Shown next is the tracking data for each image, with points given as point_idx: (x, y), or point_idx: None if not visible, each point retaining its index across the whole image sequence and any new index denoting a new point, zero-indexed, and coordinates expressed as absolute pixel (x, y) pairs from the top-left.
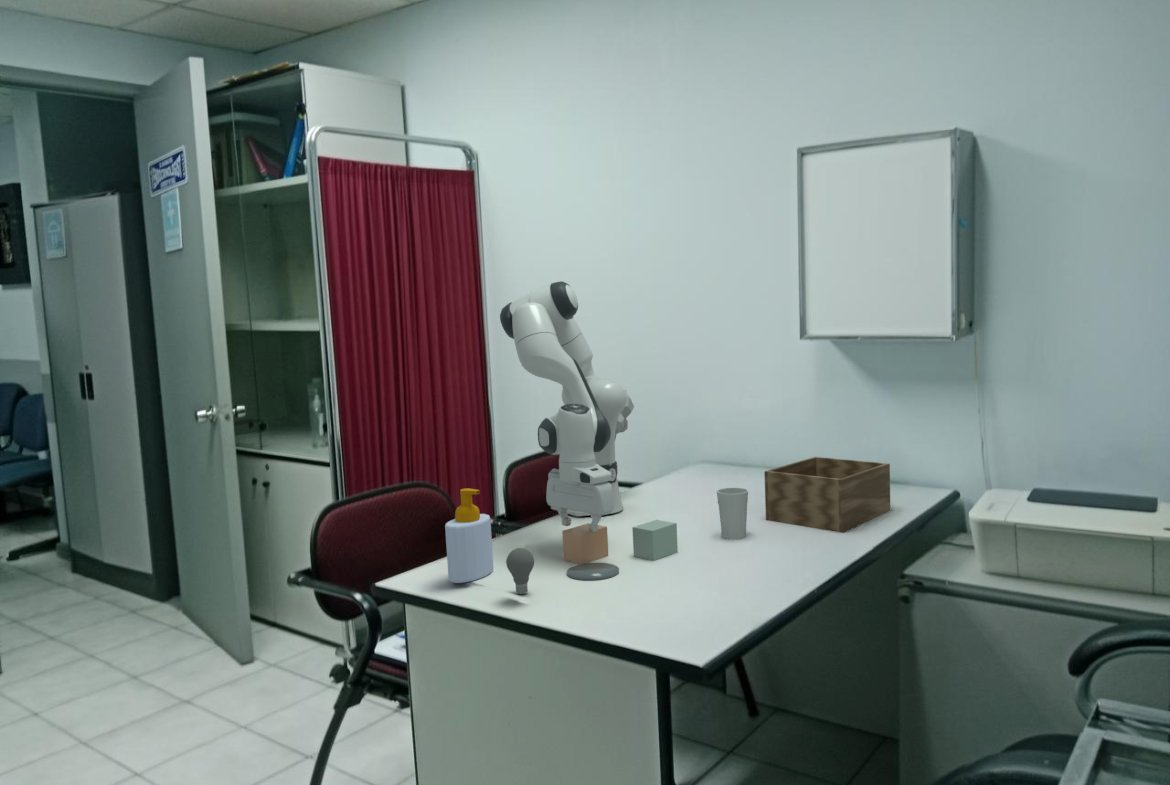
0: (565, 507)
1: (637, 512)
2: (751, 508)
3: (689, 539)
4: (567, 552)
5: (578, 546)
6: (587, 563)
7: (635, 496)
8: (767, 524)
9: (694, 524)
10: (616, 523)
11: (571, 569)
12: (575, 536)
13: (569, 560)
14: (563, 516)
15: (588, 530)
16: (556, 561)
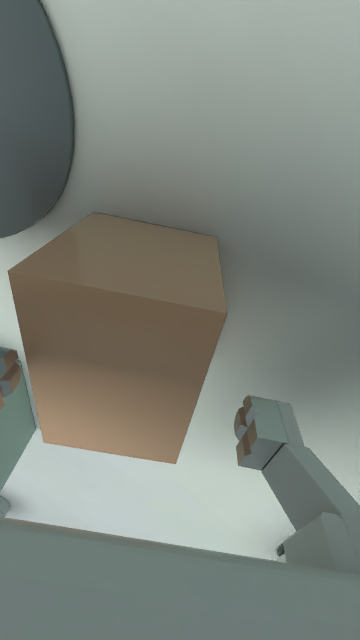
0: (246, 578)
1: None
2: None
3: (36, 480)
4: (188, 245)
5: (84, 242)
6: (46, 197)
7: None
8: None
9: (106, 530)
10: (255, 522)
11: (19, 27)
12: (85, 273)
13: (179, 231)
14: (292, 467)
15: (61, 371)
16: (239, 201)
